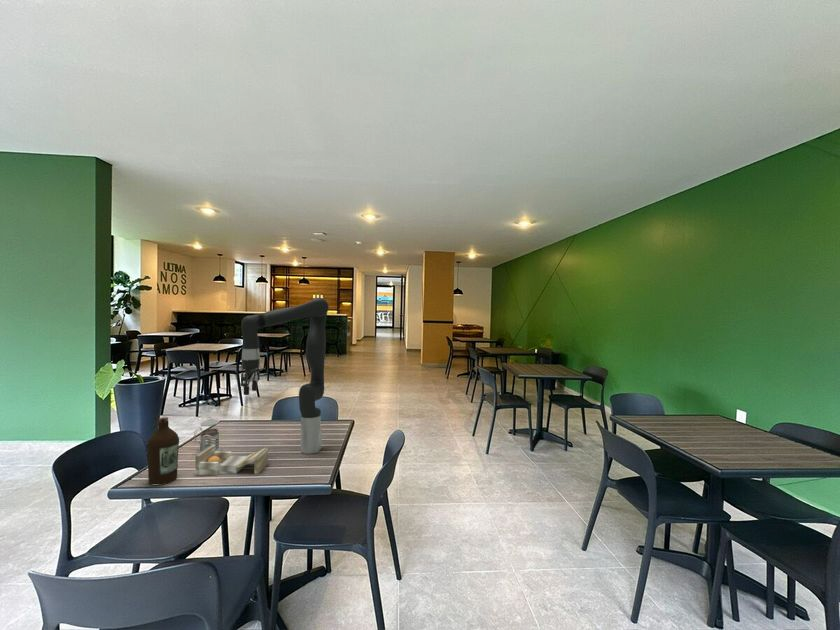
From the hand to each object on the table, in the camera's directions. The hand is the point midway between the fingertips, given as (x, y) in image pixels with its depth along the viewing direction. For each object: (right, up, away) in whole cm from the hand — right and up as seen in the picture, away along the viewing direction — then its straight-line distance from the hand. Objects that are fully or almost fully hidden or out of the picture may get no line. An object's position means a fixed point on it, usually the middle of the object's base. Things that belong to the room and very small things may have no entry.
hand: (250, 392), depth 170 cm
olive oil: (-24, -30, -24) cm, 45 cm away
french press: (-23, -30, +6) cm, 39 cm away
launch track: (-2, -30, -13) cm, 33 cm away
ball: (-10, -27, -13) cm, 32 cm away
